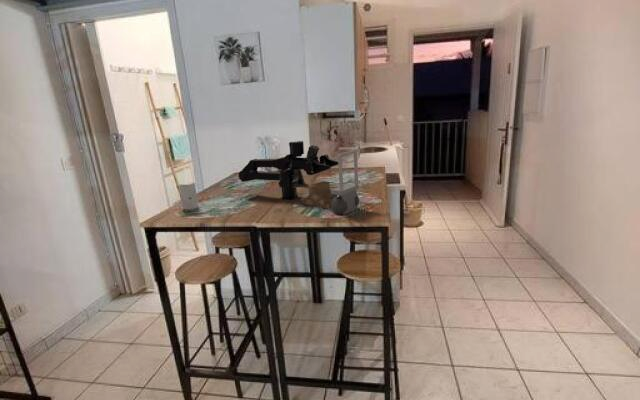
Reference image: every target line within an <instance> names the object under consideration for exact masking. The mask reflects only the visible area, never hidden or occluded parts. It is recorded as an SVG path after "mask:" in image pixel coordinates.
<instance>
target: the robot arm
mask: <svg viewBox="0 0 640 400" xmlns="http://www.w3.org/2000/svg"><path fill="white" fill-rule="evenodd" d="M288 145H289V146H288V147H289V154H286V155H285V156H283V157H282V156H281V157H278V158H254V159H251V160H249V162H248V163H247V164H246V165H245V166H244V167H243V168H242V169H241V170H240V171H239V172H238V178H239V180H240V182H242V183H244V182H250V181H254V180H256V181H258V180H259V181H278V183H277V184H278V186H279V188H281V197H280V200H281V199H283V200H293V199H295V198H297V197H298V196H299V195H298V190H297V188H298V187H296V186H295V185H294V184H296V183H297V180H298V179H299V173H298V171H297V170H301V171H303V172H305V174H306V175H307V176H313V175H317V174H319V173H321V172H324V171H328V170H331V169H332V167H335V166H338V160H337V161H336V160H333V159H331V158H330V157H329V155H328V154H322V155H320V156H318V153H319V150H320V147H318V145H314V144H313V145H309V147H308V150H307V153H306V157H303V155H304V154H305V147H304V145H305V144H304V140H298V141H289V143H288ZM291 167H292V169H289V168H291ZM259 168H275V169H277V170H279V171H263V170H261V171H260V170H258V169H259Z"/></svg>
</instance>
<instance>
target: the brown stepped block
mask: <svg viewBox="0 0 640 400" xmlns="http://www.w3.org/2000/svg"><path fill="white" fill-rule="evenodd" d="M331 190H332V189H331V188H330V181H325V180H322V181H321V180H320V181H319V182H316V183H313V184H310V185H308V196H304V197H302V198H300V199H301V204H302V205H308V206H311V205H312V206H313V207H317V208H324V209H327V210H328V209H329V210H330V209H331V201H332V199H333V198H336V197H338V195H336V194H331Z"/></svg>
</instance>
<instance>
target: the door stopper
mask: <svg viewBox="0 0 640 400" xmlns="http://www.w3.org/2000/svg"><path fill="white" fill-rule="evenodd" d="M288 169H292V167H291V168H288ZM297 171H298V173H299V179H298V180H297V183H296V184H294V185H295V186H296V188H298V187H299V186H302V185H304V184H306V182H305V179H304V175H303V173H302V170H297Z"/></svg>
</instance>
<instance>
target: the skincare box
mask: <svg viewBox="0 0 640 400" xmlns="http://www.w3.org/2000/svg"><path fill="white" fill-rule="evenodd" d="M178 186H179V192H180V199H181V204H182V205H181V207H182V209H183V210H191V209H192V210H195V209H197V208H199V203H198V196H197V194H198V193H197V189H196V182H190V181H188V182H187V181H186V182H185V181H184V182H182V183H180V184H178ZM194 208H195V209H194Z"/></svg>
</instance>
